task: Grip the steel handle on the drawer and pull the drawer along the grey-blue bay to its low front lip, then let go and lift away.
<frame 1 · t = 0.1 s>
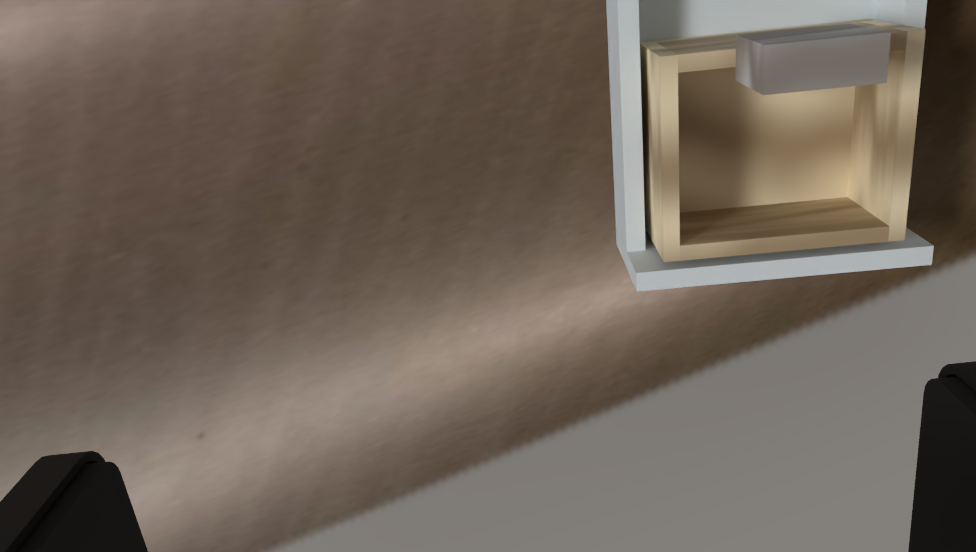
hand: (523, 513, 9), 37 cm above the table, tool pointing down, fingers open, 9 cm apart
drawer: (781, 141, 39), point 6 cm above the table, slide at 0.0 cm
bay: (746, 36, 43), on the table
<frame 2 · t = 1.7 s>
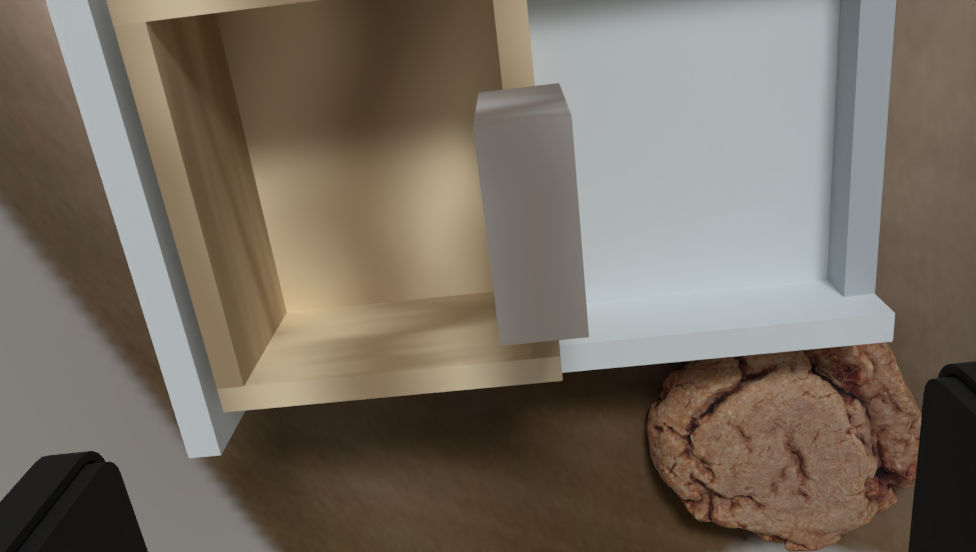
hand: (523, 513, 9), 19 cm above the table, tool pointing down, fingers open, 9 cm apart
drawer: (370, 192, 22), point 6 cm above the table, slide at 0.0 cm
cookie: (776, 421, 32), on the table
bay: (522, 127, 27), on the table
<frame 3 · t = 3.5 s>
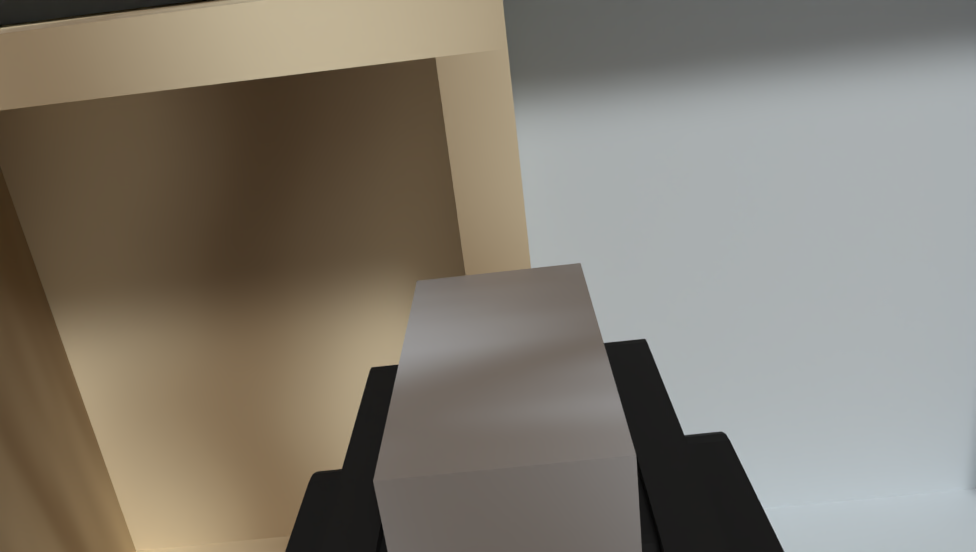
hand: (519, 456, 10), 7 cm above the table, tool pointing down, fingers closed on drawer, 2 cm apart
drawer: (224, 439, 12), point 6 cm above the table, slide at 0.0 cm, touching gripper
bay: (508, 260, 17), on the table
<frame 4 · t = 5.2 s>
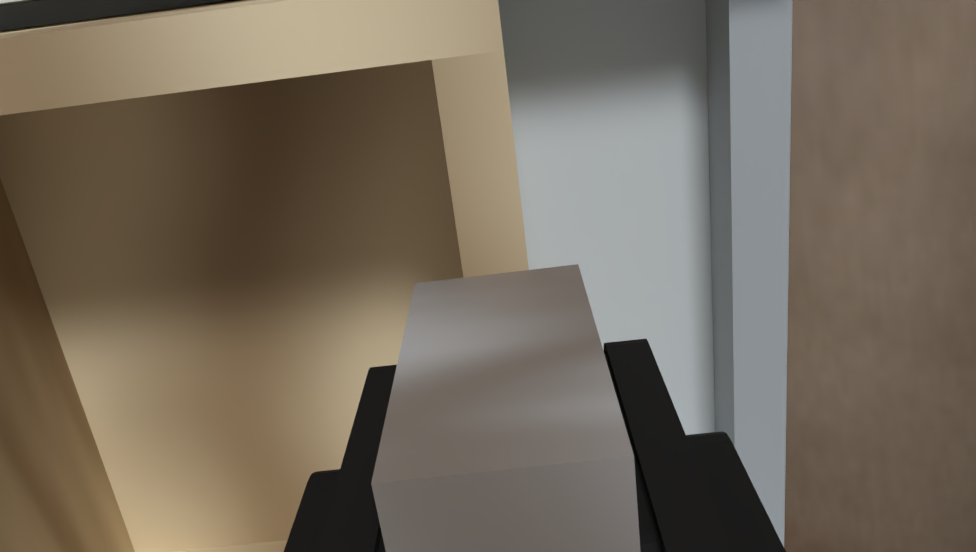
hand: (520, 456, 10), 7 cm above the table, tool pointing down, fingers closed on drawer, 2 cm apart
drawer: (223, 442, 12), point 6 cm above the table, slide at 5.9 cm, touching gripper
bay: (233, 293, 17), on the table
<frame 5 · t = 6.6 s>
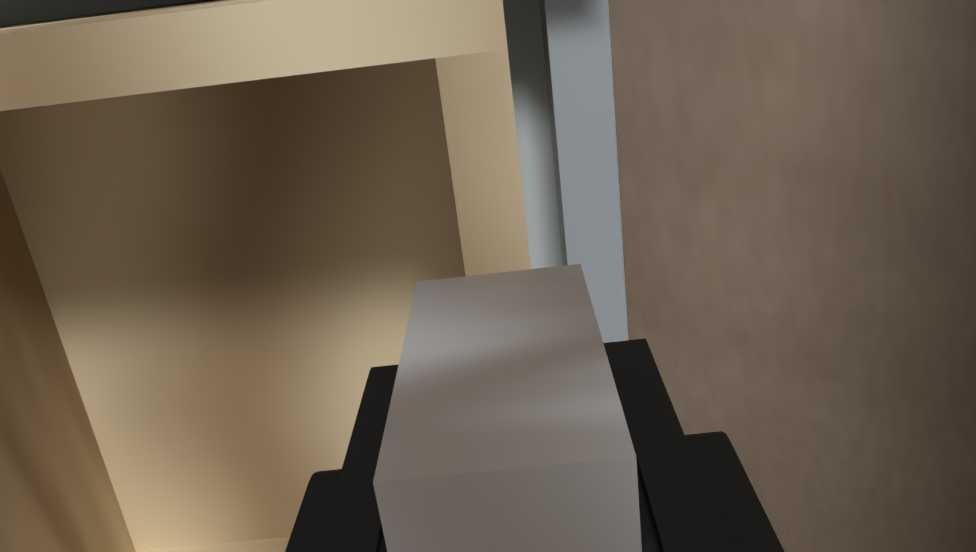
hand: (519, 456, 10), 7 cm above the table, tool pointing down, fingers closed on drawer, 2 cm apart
drawer: (223, 439, 12), point 6 cm above the table, slide at 8.9 cm, touching gripper
bay: (101, 305, 18), on the table
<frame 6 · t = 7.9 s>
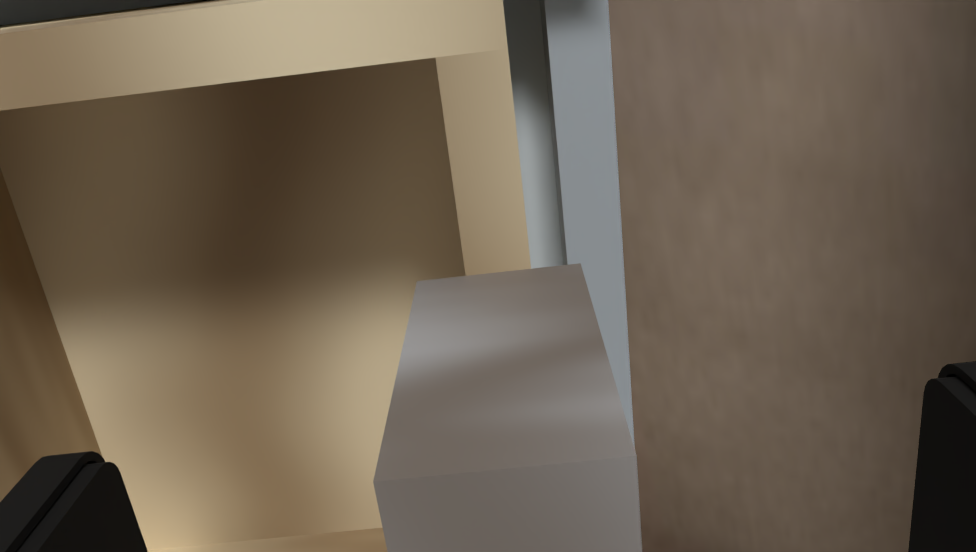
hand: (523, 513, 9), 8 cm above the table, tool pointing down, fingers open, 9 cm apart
drawer: (223, 439, 12), point 6 cm above the table, slide at 8.9 cm
bay: (101, 305, 18), on the table
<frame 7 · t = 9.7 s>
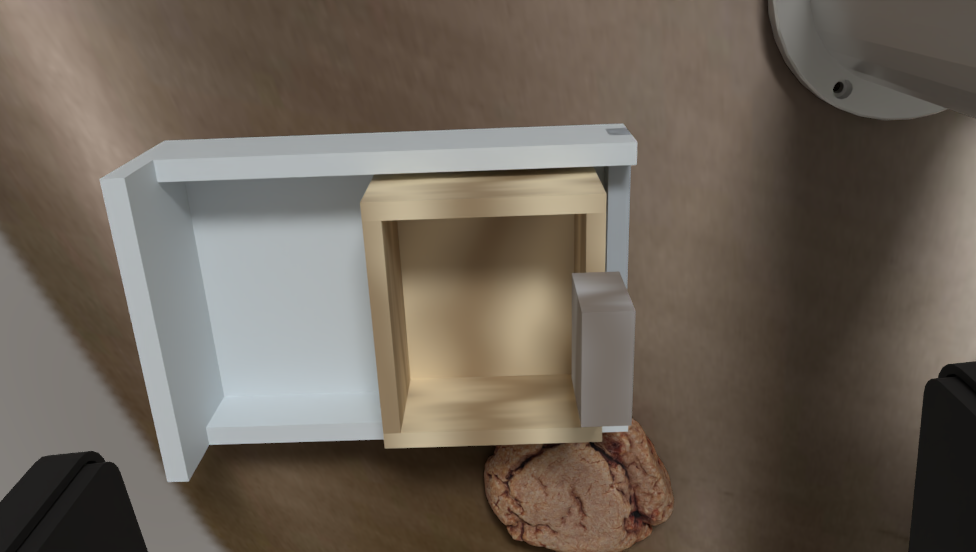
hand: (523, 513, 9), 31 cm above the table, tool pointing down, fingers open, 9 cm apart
drawer: (495, 320, 36), point 6 cm above the table, slide at 8.9 cm
cookie: (575, 474, 47), on the table
bay: (404, 273, 41), on the table
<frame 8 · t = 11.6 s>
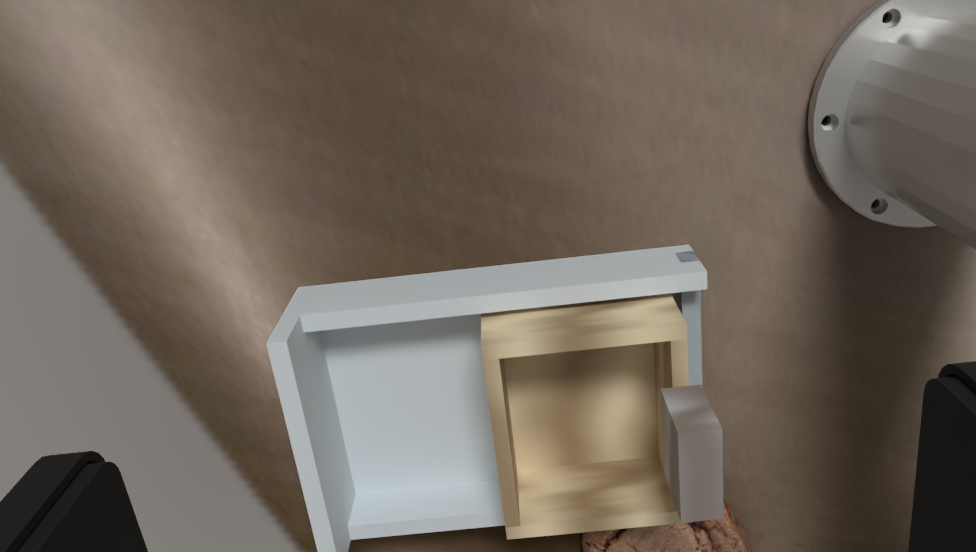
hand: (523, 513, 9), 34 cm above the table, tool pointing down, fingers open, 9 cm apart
drawer: (595, 428, 42), point 6 cm above the table, slide at 8.9 cm
cookie: (662, 536, 53), on the table
bay: (505, 380, 48), on the table
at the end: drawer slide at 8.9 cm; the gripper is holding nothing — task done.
